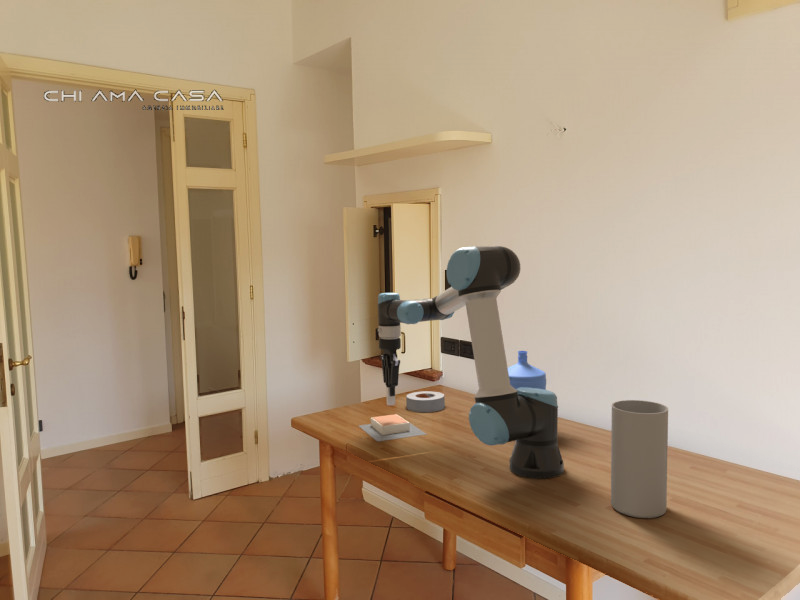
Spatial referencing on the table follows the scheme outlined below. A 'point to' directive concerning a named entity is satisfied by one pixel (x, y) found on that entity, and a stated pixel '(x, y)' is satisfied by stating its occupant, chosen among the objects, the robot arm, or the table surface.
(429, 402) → the tape roll
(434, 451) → the table surface
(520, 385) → the water jug
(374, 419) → the wooden plaque
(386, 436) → the rubber mat
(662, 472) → the cylinder vase
